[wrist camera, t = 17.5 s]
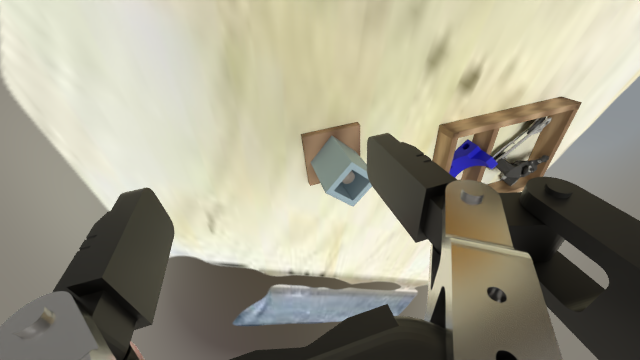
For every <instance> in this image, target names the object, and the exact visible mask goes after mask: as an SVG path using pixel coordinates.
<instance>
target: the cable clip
mask: <svg viewBox="0 0 640 360" xmlns="http://www.w3.org/2000/svg"><path fill="white" fill-rule="evenodd" d="M496 165H498V163H497V162H496V161H495V160H494V158H493V157H492V156H490V155H489V154H487V153H486V152H484V151H483V150H481V149H480V148H479V147H478V146H477V145H476V144H474V143H473V142H471V141H470V140H467V141H465V142H464V143H463V144H462V145H461V146H460V147H459V148H458V149H457V150H456V151H455V152H454V156H453V160H452V164H451V168H450V172H449V174H450V175H452V176H453V177H454V178H455V177H456V176H457V175H458V174H459V173H460V172H461V171H463V170H464V169H466V168H469V167H472V166H486V167H488V168H490V169H493V168H494V167H495V166H496Z"/></svg>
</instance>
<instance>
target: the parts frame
mask: <svg viewBox="0 0 640 360" xmlns="http://www.w3.org/2000/svg"><path fill="white" fill-rule="evenodd" d="M581 103H582V102H578V101H575V100H571V99H567V98H564V97H558V98H554V99H549V100H545V101H541V102H537V103H532V104H528V105H524V106H519V107H515V108H511V109H506V110H502V111H498V112H494V113H489V114H485V115H481V116H476V117H472V118H468V119H463V120H459V121H455V122H451V123H446V124H442V125H439V131H438V136H437V141H436V146H435V151H434V156H433V161H434V162H435V163H436V164H438V165H439V166H440V167H441V168H443V169H444V170H445V171H447V172H448V173H449V172H450V168H451V164H452V160H453V156H454V152H455V148H456V144H457V140H458V138H460V137H464V136H468V135H472V134H474V138H473V141H472V142H473V143H474V144H476V145H477V146H478V147H479V148H480V149H481V150H483V151H484V152H486V153H487V154H489V155H490V154H491V151H492V148H493V145H494V143H495V140H496V137H497V134H498V131H499V128H501V127H505V126H509V125H513V124H517V123H521V122H525V121H529V120H533V119H537V118H541V117H545V116H548V118H550V117H552V119H551V121H550V123H548V124H547V125H546V126H545V127H544V128H543V129H542V131H541V133H540V135H539V138H538V140H537V142H536V144H535V146H534V148H533V151H532V153H531V155H530V157H529V159H528V161H529V160H536V159H539V158H541V157H542V156H543V155H546V156H549V160H547V162H542V163H540V164H538V165H537V170H536V171H534V172H533V173H530V175H527V176H525V177H521V178H519V179H518V181H517V182H516V183H515V184H513V185H512V186H509V185H508V184H507V183H505V182H504V181H503V180H502V181H498V182H495V183H491V184H488V186H490V187H492V188H493V189H494V190H496V191H497V192H498V193H510V192H520V191H523V189H524V187H525V185H526V183H527V182H528V181H529V180H530V179H532V178H535V177H543V175H544V173H545V172H546V170H547V168H548V166H549V164H550V162H551V160H552V158H553V156H554V154H555V152H556V151H557V149H558V147H559V145H560V143H561V141H562V139H563V137H564V135H565V133H566V132H567V130H568V128H569V126H570V124H571V122H572V120H573V118H574V116H575V114H576V112H577V111H578V109H579V107H580V105H581ZM485 168H486V166H472V167H469V168H466V169H464V172H463V176H462V179H461V180H474V181H478V182H481V180H482V177H483V174H484V171H485Z"/></svg>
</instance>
